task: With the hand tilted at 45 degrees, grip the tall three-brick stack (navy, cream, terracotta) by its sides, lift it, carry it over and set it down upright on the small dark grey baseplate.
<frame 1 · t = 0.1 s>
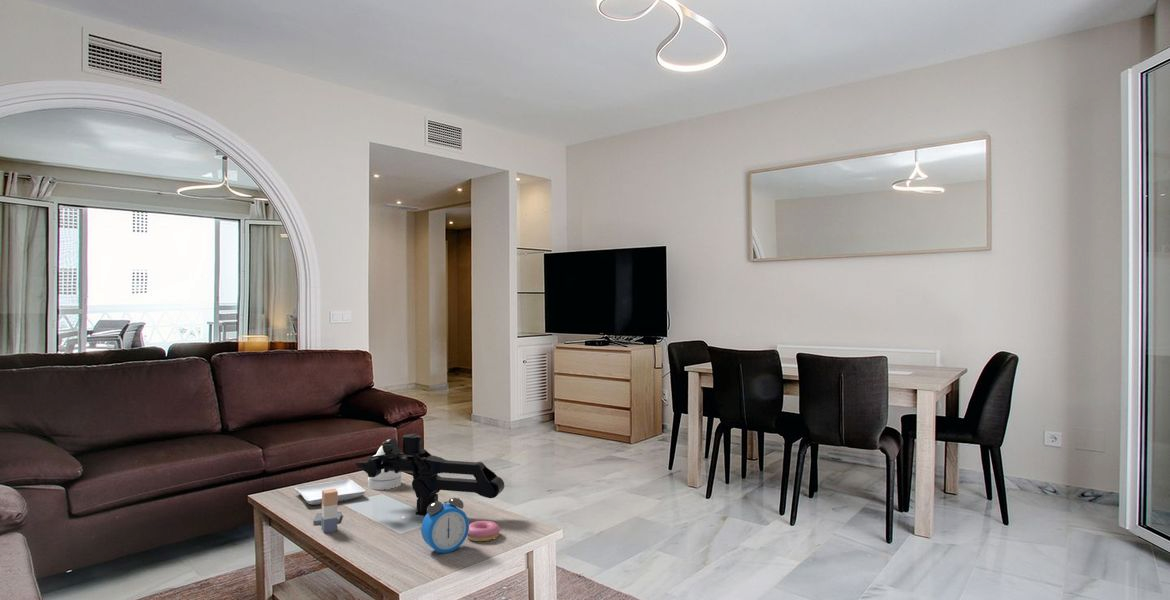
hand: (363, 461, 226), 17 cm above the table, tool horizontal, fingers open, 9 cm apart
salad plate: (330, 498, 237), on the table
alarm clock: (444, 550, 187), on the table
brick stack: (329, 529, 203), on the table
doughnut: (482, 537, 199), on the table
honey pot: (384, 485, 254), on the table
baseplate: (327, 519, 212), on the table
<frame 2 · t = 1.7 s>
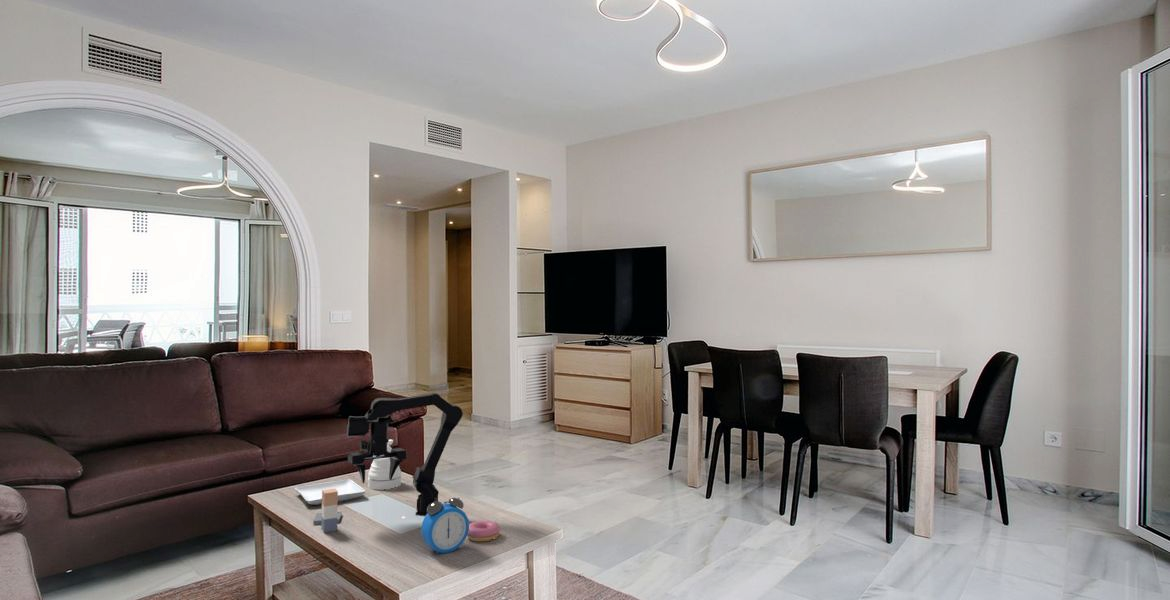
hand: (376, 481, 214), 13 cm above the table, tool pointing down, fingers open, 9 cm apart
nothing on the table moved.
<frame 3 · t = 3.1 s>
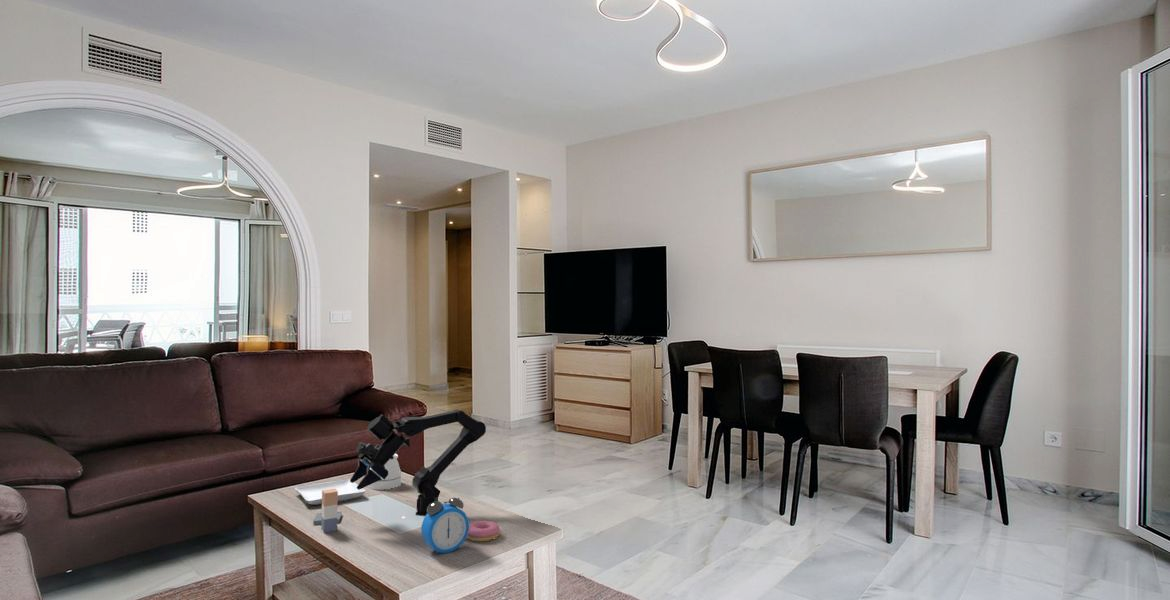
hand: (354, 485, 207), 13 cm above the table, tool tilted 45°, fingers open, 9 cm apart
nothing on the table moved.
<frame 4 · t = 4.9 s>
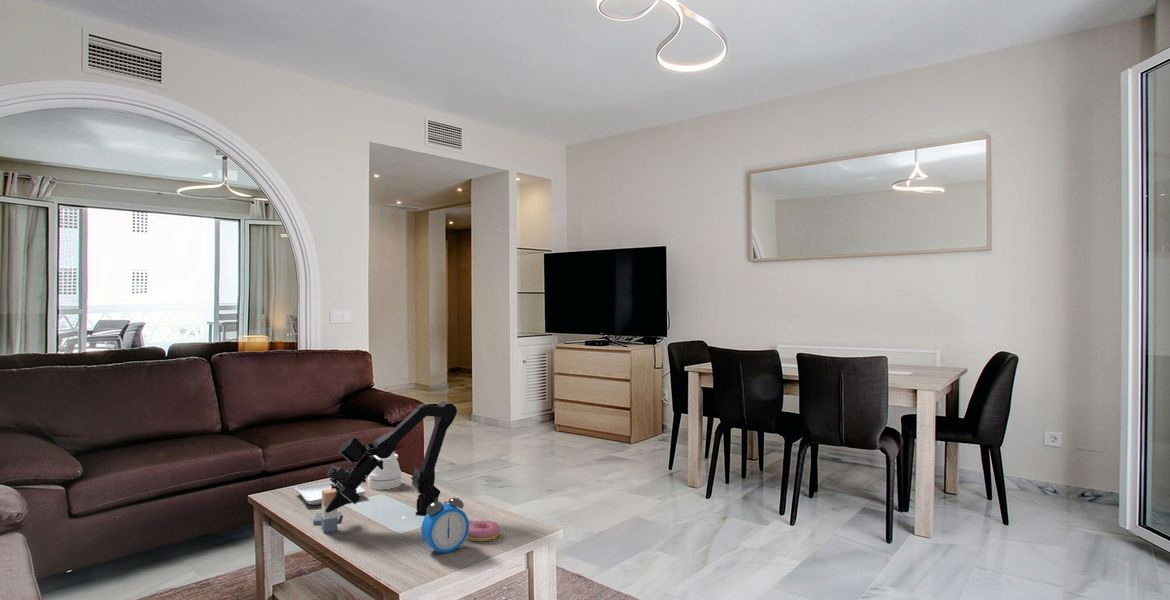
hand: (324, 510, 202), 7 cm above the table, tool tilted 45°, fingers closed on brick stack, 4 cm apart
brick stack: (329, 529, 203), on the table, touching gripper
everything else where it was.
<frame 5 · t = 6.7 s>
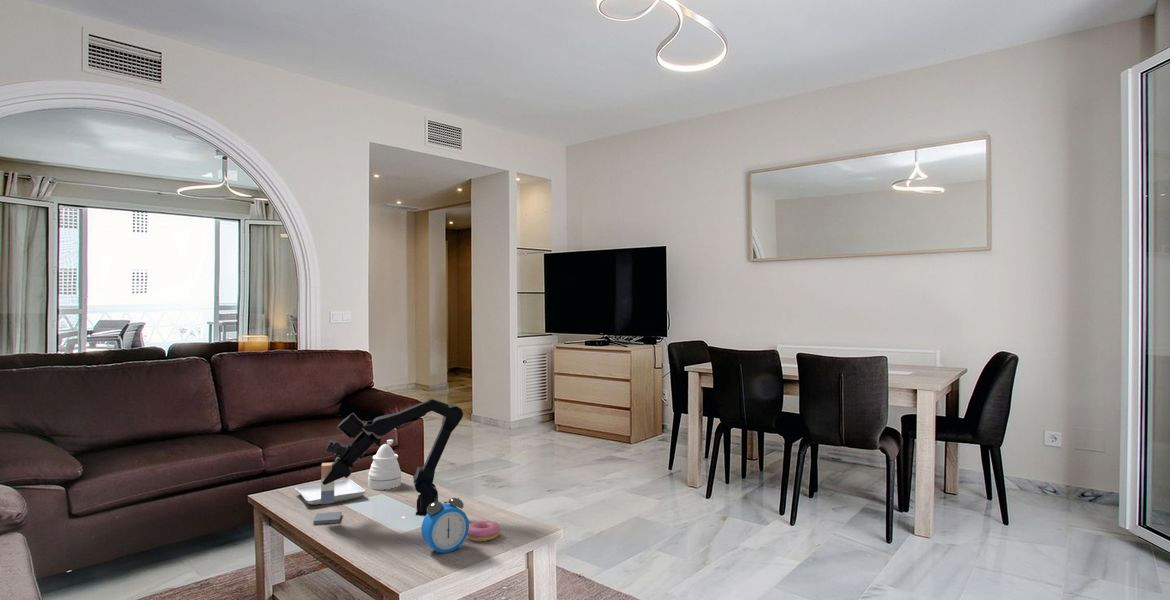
hand: (323, 482, 209), 13 cm above the table, tool tilted 45°, fingers closed on brick stack, 4 cm apart
brick stack: (327, 501, 210), point 7 cm above the table, touching gripper
everything else where it was.
when the fingers open (9 cm above the table, at t = 8.3 s): brick stack drops 1 cm, resting on baseplate.
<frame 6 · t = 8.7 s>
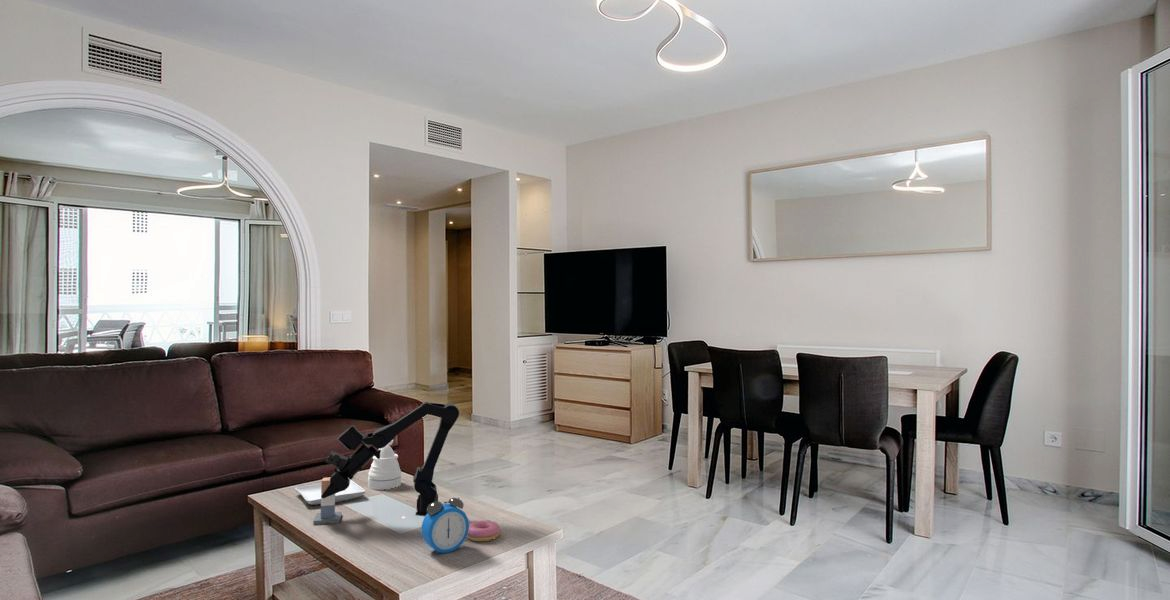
hand: (323, 493, 212), 9 cm above the table, tool tilted 45°, fingers open, 9 cm apart
brick stack: (327, 516, 212), point 1 cm above the table, touching baseplate
everything else where it was.
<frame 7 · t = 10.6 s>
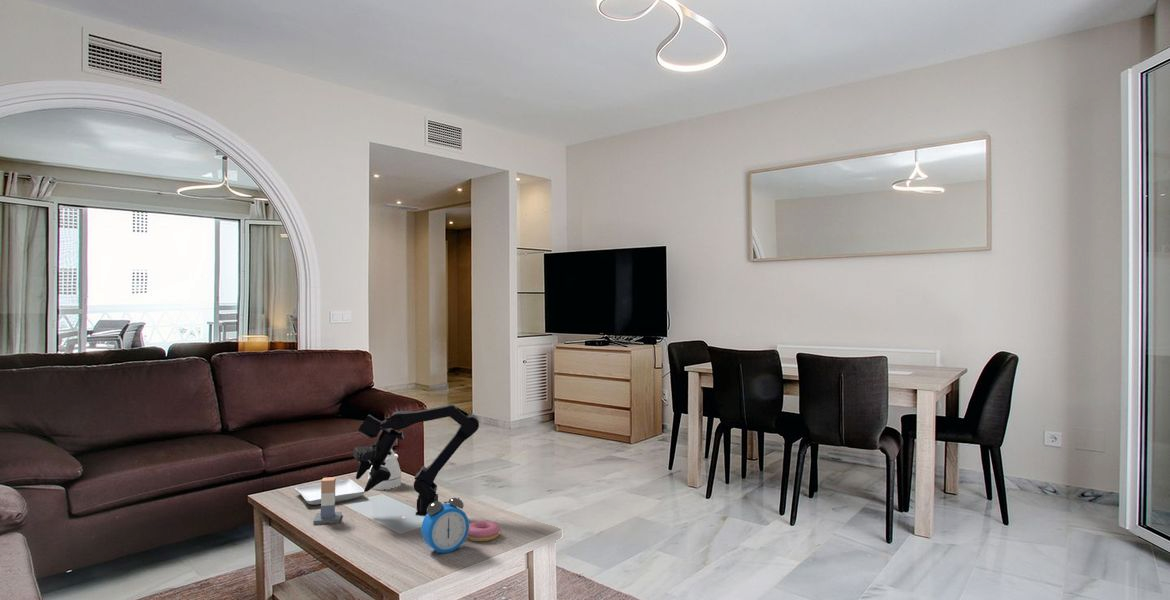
hand: (361, 485, 217), 11 cm above the table, tool tilted 30°, fingers open, 9 cm apart
nothing on the table moved.
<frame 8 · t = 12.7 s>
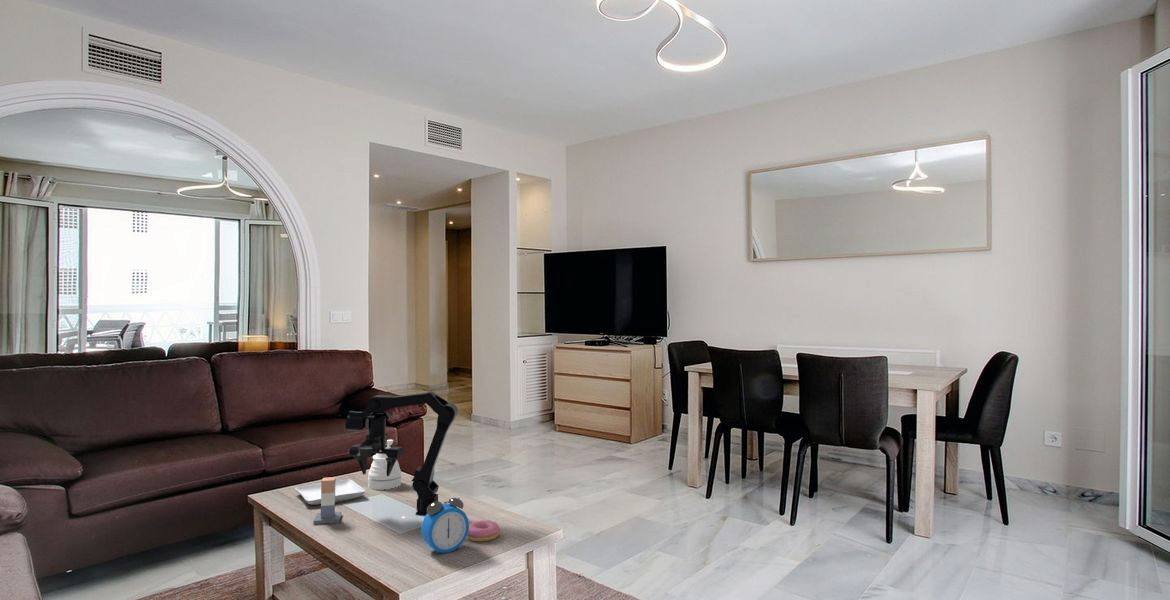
hand: (376, 475, 221), 13 cm above the table, tool pointing down, fingers open, 9 cm apart
nothing on the table moved.
at the end: brick stack 0.0 cm off-centre on the baseplate, point 1.2 cm above the baseplate's base; brick stack tilted 0°; the gripper is holding nothing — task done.
